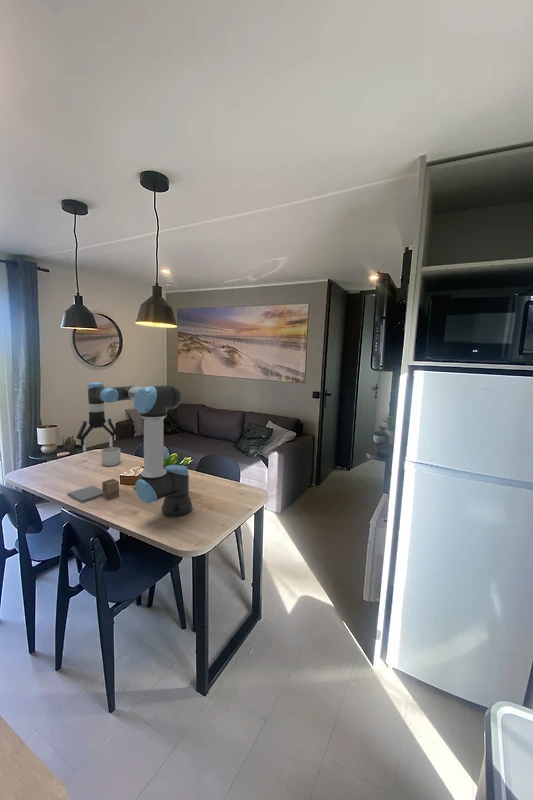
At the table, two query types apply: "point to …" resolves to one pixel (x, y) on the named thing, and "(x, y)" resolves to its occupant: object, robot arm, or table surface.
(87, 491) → the slate board
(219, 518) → the table surface
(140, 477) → the rock
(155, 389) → the robot arm
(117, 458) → the planter
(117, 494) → the walnut block
